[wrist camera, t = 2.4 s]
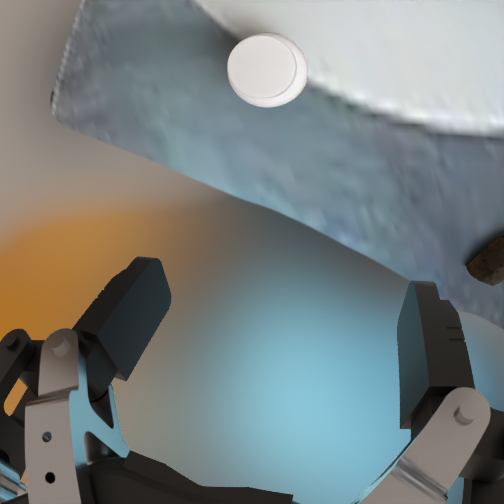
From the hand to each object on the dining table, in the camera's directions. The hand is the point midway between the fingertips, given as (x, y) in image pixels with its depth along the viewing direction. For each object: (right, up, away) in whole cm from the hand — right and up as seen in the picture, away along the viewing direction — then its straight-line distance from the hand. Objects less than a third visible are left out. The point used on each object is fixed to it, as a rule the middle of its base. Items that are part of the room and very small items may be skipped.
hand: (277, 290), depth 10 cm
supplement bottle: (+1, +17, +14) cm, 22 cm away
